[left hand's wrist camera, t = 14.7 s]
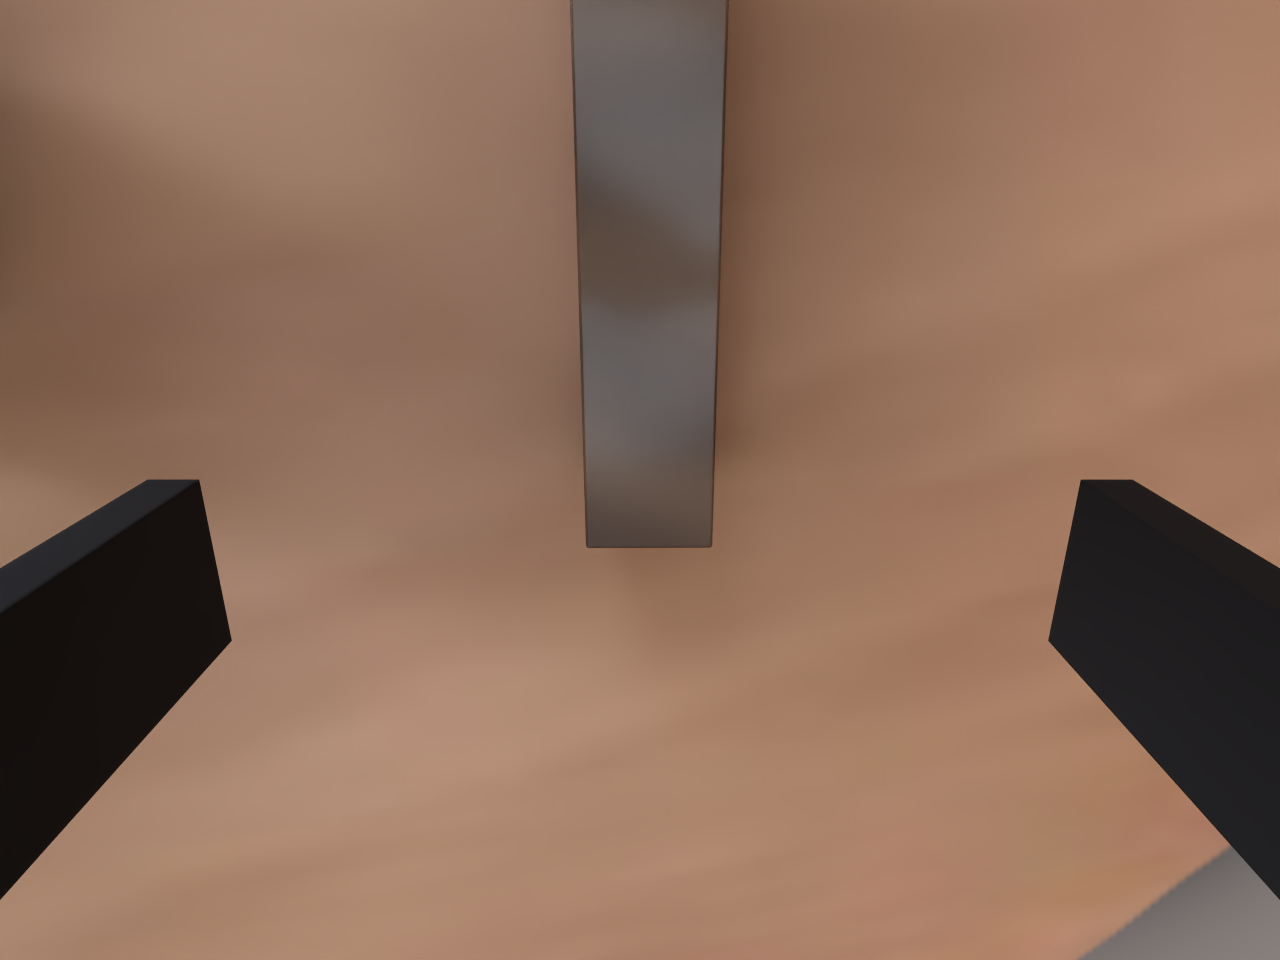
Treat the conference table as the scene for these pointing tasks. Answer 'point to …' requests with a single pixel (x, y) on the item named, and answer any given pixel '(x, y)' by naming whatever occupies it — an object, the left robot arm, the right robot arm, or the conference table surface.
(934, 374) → the conference table surface
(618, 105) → the beam
